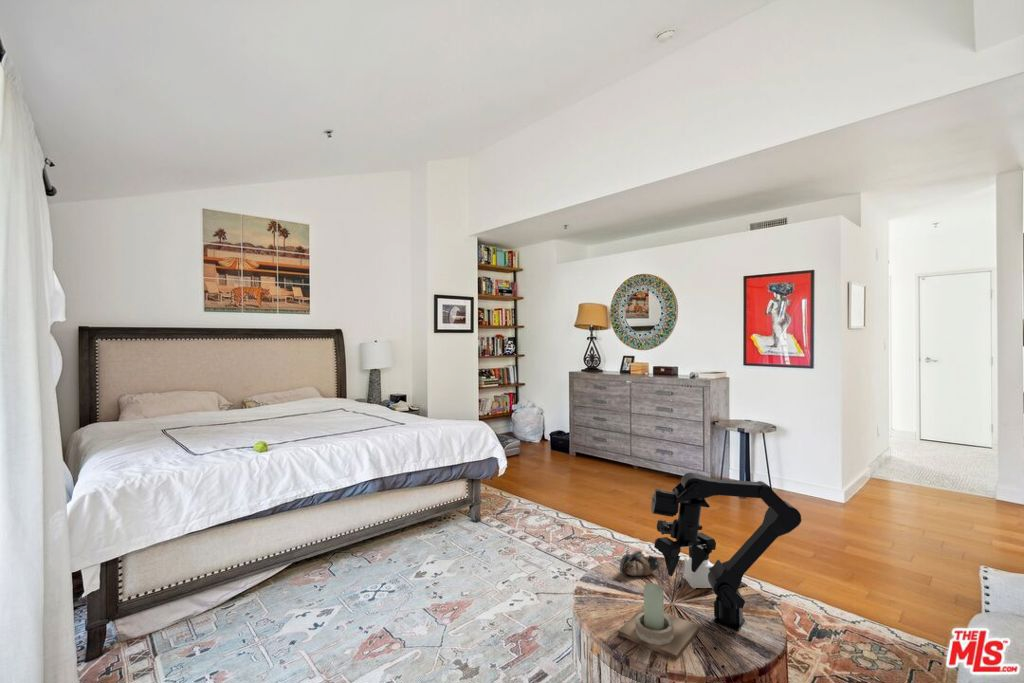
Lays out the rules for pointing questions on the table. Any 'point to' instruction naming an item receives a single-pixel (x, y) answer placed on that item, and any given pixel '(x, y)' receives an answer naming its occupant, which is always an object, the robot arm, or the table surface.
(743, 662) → the table surface
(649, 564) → the dark brown lumpy piece
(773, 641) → the table surface
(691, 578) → the medicine bottle
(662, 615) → the pale green peg
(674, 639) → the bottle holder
